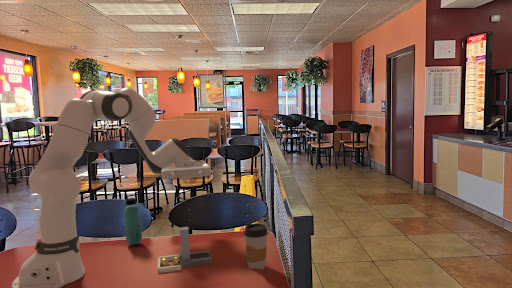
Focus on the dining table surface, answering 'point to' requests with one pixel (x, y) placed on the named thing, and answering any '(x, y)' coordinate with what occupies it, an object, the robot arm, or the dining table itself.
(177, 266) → the ball tray
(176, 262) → the brass sphere
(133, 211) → the beverage bottle
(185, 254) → the tall gray pillar
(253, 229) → the coffee cup
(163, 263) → the gold metallic ball
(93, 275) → the dining table surface
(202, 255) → the slot rail
